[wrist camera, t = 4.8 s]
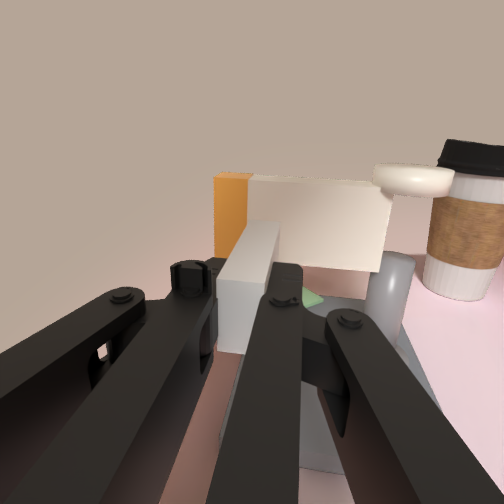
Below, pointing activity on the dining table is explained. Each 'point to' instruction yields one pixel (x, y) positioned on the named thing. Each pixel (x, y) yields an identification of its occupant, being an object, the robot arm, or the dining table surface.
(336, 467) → the tuner board
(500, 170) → the coffee cup
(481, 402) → the dining table surface
